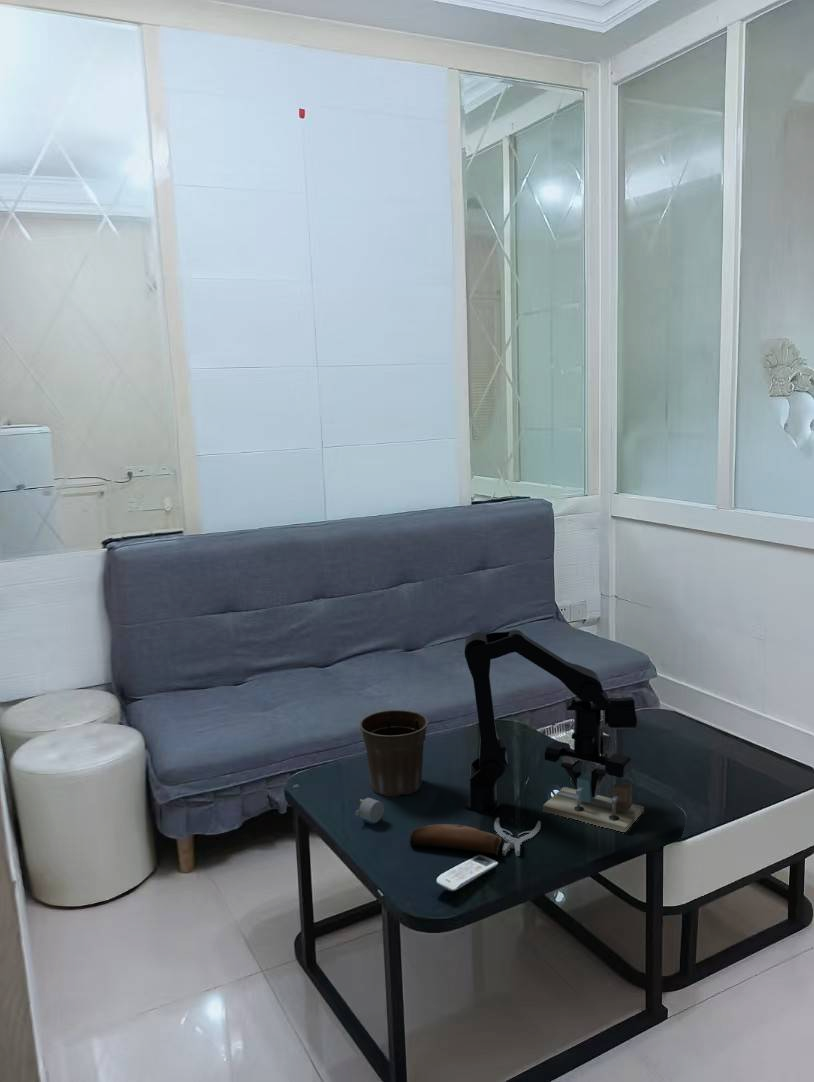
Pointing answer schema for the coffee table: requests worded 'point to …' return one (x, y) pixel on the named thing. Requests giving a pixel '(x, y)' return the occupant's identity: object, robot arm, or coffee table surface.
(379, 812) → the electric motor
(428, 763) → the coffee table surface
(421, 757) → the plant pot
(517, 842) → the pliers
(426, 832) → the sunglasses case
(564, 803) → the beige board with blocks
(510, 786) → the coffee table surface
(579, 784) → the teal block
